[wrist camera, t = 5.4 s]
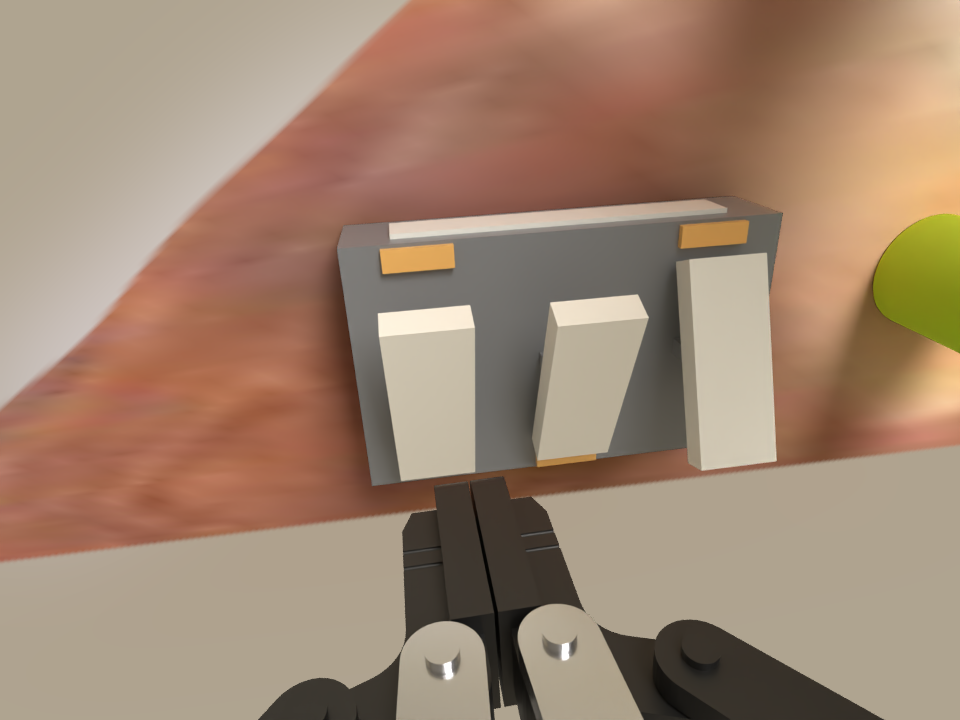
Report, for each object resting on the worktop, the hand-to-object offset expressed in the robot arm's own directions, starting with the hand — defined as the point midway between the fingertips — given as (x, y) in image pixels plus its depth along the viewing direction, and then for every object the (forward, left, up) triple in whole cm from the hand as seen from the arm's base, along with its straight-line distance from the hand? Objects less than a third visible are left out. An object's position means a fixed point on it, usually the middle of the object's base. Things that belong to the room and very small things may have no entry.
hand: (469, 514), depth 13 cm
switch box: (-3, +6, -17) cm, 18 cm away
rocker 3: (-7, +9, -11) cm, 16 cm away
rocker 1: (+2, +2, -11) cm, 11 cm away
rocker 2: (-3, +6, -11) cm, 13 cm away
